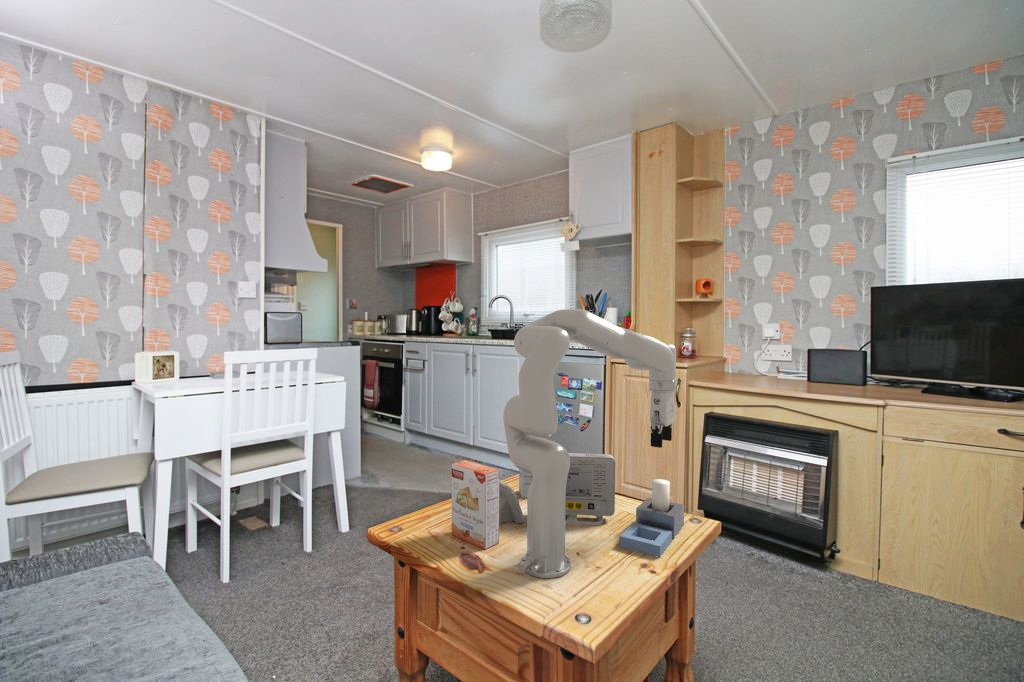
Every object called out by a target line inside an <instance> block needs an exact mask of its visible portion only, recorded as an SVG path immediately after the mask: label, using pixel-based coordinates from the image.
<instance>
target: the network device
mask: <svg viewBox="0 0 1024 682" xmlns="http://www.w3.org/2000/svg"><path fill="white" fill-rule="evenodd" d="M568 454H569V457H570V468H569V472H568V477H567V483H566V499H565V505H566V508H565V515H566V516H567V519H565V525H584V526H600V525H602V524H604V517H612V516H614V514H615V511H616V510H615V508H616V505H615V502H616V497H615V496H616V492H615V491H616V460H615V458H614V456H613V455H612V454H608V453H607V454H606V453H583V452H582V453H579V452H578V453H577V452H575V453H574V452H568ZM532 480H533V475H531V482H532ZM578 516H592V517H593V516H594V517H595V516H597V517H598V518H597V519H598V521H585V520H584V521H583V520H578Z"/></svg>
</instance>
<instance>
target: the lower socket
mask: <svg viewBox="0 0 1024 682" xmlns="http://www.w3.org/2000/svg"><path fill="white" fill-rule="evenodd" d="M652 540H653V541H652ZM672 542H673V539H672V531H668V530H664V529H659V528H655V527H651V526H646V525H642V524H638V523H636V522H632V524H630V525H629V526H628V527H627V528H626V530H624V532H622V533H621V534H620V535H619V547H620V548H622V549H626V550H629V549H630V550H629V551H634V552H638V553H642V554H644V553H645V555H648V556H651V557H656V556H657V557H656V558H659V557H660V558H661V557H662V556H661V555H663V554H664V553H665V552H664V551H666V550H667V549H668V548H669V546H670V545H671V544H672ZM670 543H671V544H670ZM669 544H670V545H669ZM667 547H668V548H667Z"/></svg>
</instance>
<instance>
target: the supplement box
mask: <svg viewBox="0 0 1024 682" xmlns="http://www.w3.org/2000/svg"><path fill="white" fill-rule="evenodd" d="M530 485H531V474H529V473H527V472H525V471H523V470H521V469H519V468H518V492H519V494H520V496H521V498H522V499H527V495H528V490H529V487H530Z"/></svg>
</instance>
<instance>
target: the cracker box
mask: <svg viewBox="0 0 1024 682" xmlns="http://www.w3.org/2000/svg"><path fill="white" fill-rule="evenodd" d="M499 479H500V469H498V468H493V467H490V466H488V465H484V464H481V463H477V462H473V461H470V460H469V459H468V460H467V459H464V460H461V461H456V462H453V463H451V535H452V536H455V537H457V538H458V539H461V540H463V541H465V540H466V541H465V542H467V541H468V543H469V542H470V544H471V545H474V546H477V547H478V548H481V549H482V550H488V549H490V548H492V547H493V546H496V545H498V544H499V543H500V522H499Z"/></svg>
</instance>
